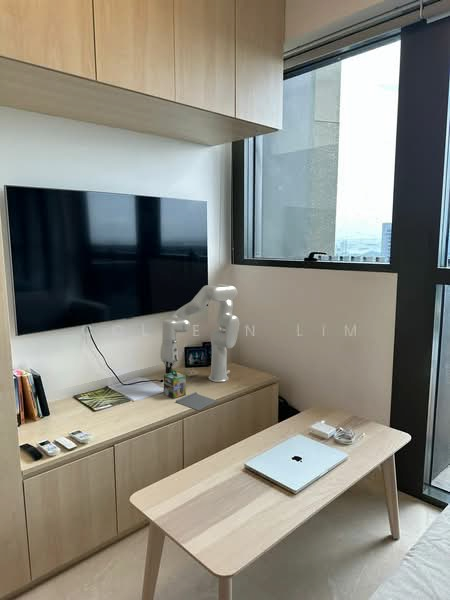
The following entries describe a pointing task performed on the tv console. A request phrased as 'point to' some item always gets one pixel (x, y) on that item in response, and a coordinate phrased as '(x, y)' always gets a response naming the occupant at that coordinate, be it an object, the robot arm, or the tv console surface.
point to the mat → (196, 401)
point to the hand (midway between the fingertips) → (168, 373)
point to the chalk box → (174, 384)
